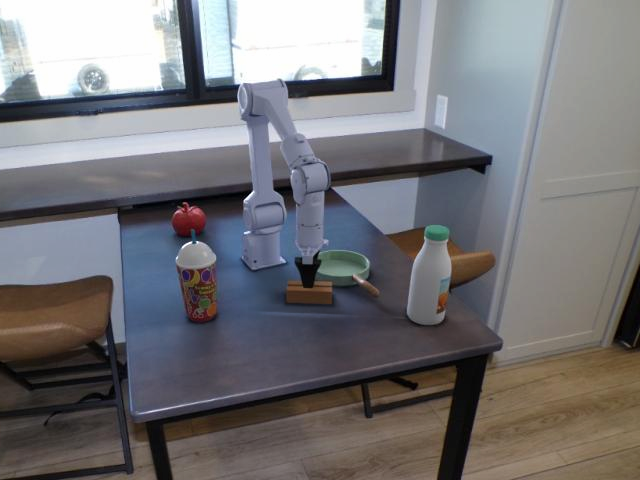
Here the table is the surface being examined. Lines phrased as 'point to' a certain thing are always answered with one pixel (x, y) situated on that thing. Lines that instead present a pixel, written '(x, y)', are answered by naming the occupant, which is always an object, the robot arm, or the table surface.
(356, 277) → the pan handle
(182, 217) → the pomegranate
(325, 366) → the table surface
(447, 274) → the milk bottle
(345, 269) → the pan
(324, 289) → the taped cardboard box
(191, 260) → the smoothie
